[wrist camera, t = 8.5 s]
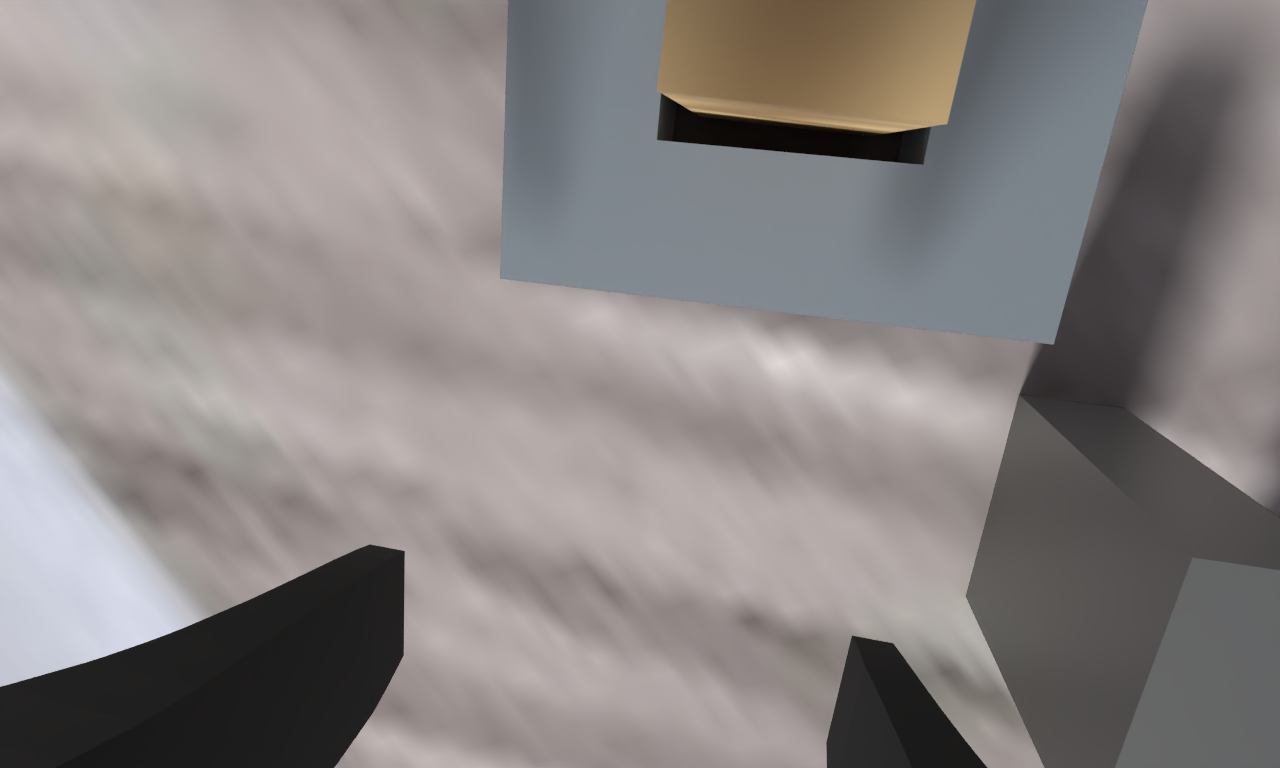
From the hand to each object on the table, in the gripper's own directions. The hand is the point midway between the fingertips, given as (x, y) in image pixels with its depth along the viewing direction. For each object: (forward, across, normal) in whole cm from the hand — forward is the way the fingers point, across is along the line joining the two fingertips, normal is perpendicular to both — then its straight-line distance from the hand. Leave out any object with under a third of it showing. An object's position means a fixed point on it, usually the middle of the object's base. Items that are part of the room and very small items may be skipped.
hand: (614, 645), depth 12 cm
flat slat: (+9, -10, 0) cm, 14 cm away
